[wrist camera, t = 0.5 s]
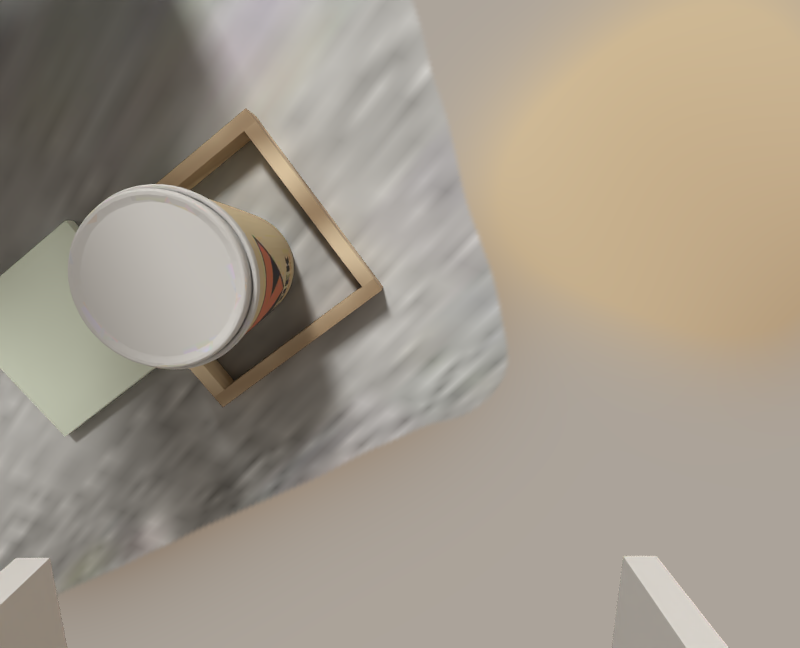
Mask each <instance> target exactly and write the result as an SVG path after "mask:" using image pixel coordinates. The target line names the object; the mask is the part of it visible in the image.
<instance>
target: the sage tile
mask: <svg viewBox="0 0 800 648" xmlns="http://www.w3.org/2000/svg"><path fill="white" fill-rule="evenodd" d="M78 228H79V227H78V225H77V224H76V223H75V222H74V221H68V220H65V221H64V222H63V223H62V224H61V225H59V226H58V227H57V228H56V229H55V230H54V231H52V232H51V233H50V234H49V235H48V236H47V237H45V238H44V239H43V240H42V241H41V242H40V243H38V244H37V245H36V246H35V247H34V248H33V249H31V250H30V251H29V252H28V253H27V254H25V255H24V256H23V257H22V258H21V259H20V260H18V261H17V262H16V263H15V264H14V265H13V266H11V267H10V268H9V269H8V270H7V271H6V272H4V273H3V274H2V275H1V276H0V369H1V370H2V371H3V372H4V373H5V374H6V375H7V376H8V377H9V378H10V379H11V380H12V381H13V382H14V383H15V384H16V385H17V386H18V388H19V389H20V390H21V391H22V392H23V393H24V394H25V395H26V396H27V397H28V398H29V399H30V400H31V401H32V402H33V403H34V404H35V405H36V407H37V408H38V409H39V410H40V411H41V412H42V413H43V414H44V415H45V416H46V417H47V418H48V419H49V420H50V421H51V422H52V423H53V425H54V426H55V427H56V428H57V429H58V430H59V431H60V432H61V433H62V434H63V435H64V436H67V435H69V434H70V433H72V432H73V431H75V430H76V429H77V428H78V427H80V426H81V425H82V424H84V423H85V422H86V421H88V420H89V419H90V418H91V417H93V416H94V415H95V414H97V413H98V412H99V411H101V410H102V409H103V408H104V407H106V406H107V405H108V404H110V403H111V402H112V401H114V400H115V399H116V398H117V397H119V396H120V395H121V394H123V393H124V392H125V391H127V390H128V389H129V388H130V387H132V386H133V385H134V384H136V383H137V382H138V381H140V380H141V379H142V378H143V377H145V376H146V375H147V374H149V373H150V372H151V371H152V370H154V369H155V367H150V366H147V365H143V364H140V363H136V362H133V361H131V360H129V359H127V358H124V357H123V356H121V355H119V354H117V353H115V352H114V351H113V350H111V349H110V348H108V347H107V346H106V345H105V344H103V343H102V342H101V341H100V340H99V339H98V338H97V337H96V336H95V335H94V334H93V333H92V332H91V330H90V329H89V328H88V327H87V325H86V324H85V322H84V321H83V319H82V318H81V316H80V314H79V312H78V310H77V308H76V306H75V303H74V301H73V298H72V295H71V291H70V286H69V282H68V258H69V252H70V248H71V244H72V241H73V239H74V236H75V234H76V232H77V230H78Z"/></svg>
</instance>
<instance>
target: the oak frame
mask: <svg viewBox="0 0 800 648" xmlns="http://www.w3.org/2000/svg"><path fill="white" fill-rule="evenodd" d="M250 140H252V142H253V143H254V144H255V146H256V147H257V148H258V150H259V151H260V152H261V154H262V155H263V156H264V158H265V159H266V160H267V162H268V163H269V164H270V166H271V167H272V168H273V170H274V171H275V172H276V174H277V175H278V176H279V178H280V179H281V180H282V182H283V183H284V184H285V186H286V187H287V188H288V189H289V191H290V192H291V193H292V195H293V196H294V197H295V199H296V200H297V201H298V203H299V204H300V205H301V207H302V208H303V209H304V211H305V212H306V213H307V215H308V216H309V217H310V219H311V220H312V221H313V223H314V224H315V225H316V227H317V228H318V229H319V231H320V232H321V233H322V234H323V236H324V237H325V238H326V240H327V241H328V242H329V244H330V245H331V246H332V248H333V249H334V250H335V252H336V253H337V254H338V256H339V257H340V258H341V260H342V261H343V262H344V264H345V265H346V266H347V268H348V269H349V270H350V272H351V273H352V274H353V276H354V277H355V278H356V280H357V281H358V282H359V283H360V285H361V287H360V288H359V289H357V290H356V291H355V292H353V293H352V294H351V295H349V296H348V297H347V298H345V299H344V300H343V301H341V302H340V303H339V304H337V305H336V306H335V307H333V308H332V309H331V310H329V311H328V312H327V313H325V314H324V315H322V316H321V317H320V318H318V319H317V320H316V321H314V322H313V323H312V324H310V325H309V326H308V327H306V328H305V329H304V330H302V331H301V332H300V333H298V334H297V335H296V336H294V337H293V338H292V339H290V340H289V341H288V342H286V343H285V344H283V345H282V346H281V347H279V348H278V349H277V350H275V351H274V352H273V353H271V354H270V355H269V356H267V357H266V358H265V359H263V360H262V361H261V362H259V363H258V364H257V365H255V366H254V367H253V368H251V369H250V370H249V371H247V372H246V373H245V374H243V375H242V376H240V377H239V378H238V379H236V380H235V381H234V380H233V379H232V378H231V377H230V375H229V374H228V373H227V372H226V371H225V370H224V368H223V367H222V366H221V365H220V364H219V362H218V361H217V360H214V361H211V362H209V363H207V364H204V365H201V366H198V367H193V368H189V369H190V370H191V371H192V372H193V373H194V374H195V376H196V377H197V378H198V379H199V380H200V381H201V382H202V384H203V385H204V386H205V387H206V388H207V389H208V391H209V392H210V393H211V394H212V395H213V396H214V398H215V399H216V400H217V401H218V402H219V403H220V405H221V406H222V407H224V406H225V405H227V404H228V403H230V402H231V401H232V400H234V399H235V398H236V397H238V396H239V395H240V394H242V393H243V392H244V391H246V390H247V389H249V388H250V387H251V386H253V385H254V384H255V383H257V382H258V381H259V380H261V379H262V378H263V377H265V376H266V375H267V374H269V373H270V372H272V371H273V370H274V369H276V368H277V367H278V366H280V365H281V364H282V363H284V362H285V361H286V360H288V359H289V358H291V357H292V356H293V355H295V354H296V353H297V352H299V351H300V350H301V349H303V348H304V347H305V346H307V345H308V344H310V343H311V342H312V341H314V340H315V339H316V338H318V337H319V336H320V335H322V334H323V333H324V332H326V331H327V330H329V329H330V328H331V327H333V326H334V325H335V324H337V323H338V322H339V321H341V320H342V319H343V318H345V317H346V316H348V315H349V314H350V313H352V312H353V311H354V310H356V309H357V308H358V307H360V306H361V305H362V304H364V303H365V302H366V301H368V300H369V299H371V298H372V297H373V296H375V295H376V294H377V293H379V292H380V291H381V290H382V289H383V286H382V285H381V283H380V282H379V281H378V279H377V278H376V277H375V275H374V274H373V273H372V271H371V270H370V269H369V267H368V266H367V265H366V263H365V262H364V261H363V259H362V258H361V257H360V255H359V254H358V253H357V251H356V250H355V249H354V247H353V246H352V245H351V243H350V242H349V241H348V239H347V238H346V237H345V235H344V234H343V233H342V231H341V230H340V228H339V227H338V226H337V224H336V223H335V222H334V220H333V219H332V218H331V216H330V215H329V214H328V212H327V211H326V210H325V208H324V207H323V206H322V204H321V203H320V202H319V200H318V199H317V198H316V196H315V195H314V194H313V192H312V191H311V190H310V188H309V187H308V186H307V184H306V183H305V182H304V180H303V179H302V178H301V176H300V175H299V174H298V172H297V171H296V170H295V168H294V167H293V165H292V164H291V163H290V161H289V160H288V159H287V157H286V156H285V155H284V153H283V152H282V151H281V149H280V148H279V147H278V145H277V144H276V143H275V141H274V140H273V139H272V137H271V136H270V135H269V133H268V132H267V131H266V129H265V128H264V127H263V125H262V124H261V123H260V121H259V120H258V119H257V117H256V116H255V115H254V114H252V113H251V112H250V111H249V110H247V109H244V110H243V111H242V112H241V113H240V114H238V115H237V116H236V117H235V118H234V119H233V120H231V121H230V122H229V123H228V124H227V125H225V126H224V127H223V128H222V129H221V130H219V131H218V132H217V133H216V134H215V135H213V136H212V137H211V138H210V139H209V140H207V141H206V142H205V143H204V144H203V145H202V146H200V147H199V148H198V149H197V150H196V151H194V152H193V153H192V154H191V155H190V156H188V157H187V158H186V159H185V160H184V161H182V162H181V163H180V164H179V165H178V166H176V167H175V168H174V169H173V170H172V171H171V172H169V173H168V174H167V175H166V176H165V177H163V178H162V179H161V180H160V181H159V182H157V183H156V184H165V185H173V186H177V187H181V188H185V189H188V190H191V189H192V188H193V187H195V186H196V185H197V184H198V183H199V182H201V181H202V180H203V179H204V178H205V177H207V176H208V175H209V174H210V173H211V172H213V171H214V170H215V169H216V168H218V167H219V166H220V165H221V164H222V163H224V162H225V161H226V160H227V159H228V158H230V157H231V156H232V155H233V154H235V153H236V152H237V151H238V150H239V149H241V148H242V147H243V146H244V145H245V144H247V143H248V142H249V141H250Z"/></svg>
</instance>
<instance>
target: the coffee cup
mask: <svg viewBox="0 0 800 648" xmlns="http://www.w3.org/2000/svg"><path fill="white" fill-rule="evenodd" d="M293 275H294V262H293V256H292V252H291V250H290V247H289V245H288V243H287V241H286V240H285V238H284V237H283V235H282V234H281V233H280V232H279V231H278V230H277V229H276V228H275V227H274V226H273V225H272V224H270V223H269V222H267V221H266V220H264V219H262V218H260V217H257V216H255V215H253V214H250V213H247V212H245V211H242V210H239V209H236V208H234V207H231V206H228V205H225V204H222V203H219V202H216V201H213V200H210V199H208V198H206V197H204V196H202V195H200V194H198V193H196V192H193V191H191V190H188V189H185V188H181V187H177V186H173V185H165V184H148V185H139V186H135V187H130V188H127V189H125V190H122V191H119V192H117V193H115V194H113V195H112V196H110V197H109V198H107V199H105V200H104V201H103V202H102V203H100V204H99V205H98V206H97V207H96V208H95V209H94V210H92V211H91V212H90V213H89V214H88V216H87V217H86V218H85V219H84V221H83V222H82V223H81V225H80V226H79V228H78V230H77V232H76V234H75V236H74V239H73V241H72V244H71V248H70V252H69V258H68V282H69V286H70V291H71V295H72V298H73V301H74V303H75V306H76V308H77V310H78V312H79V314H80V316H81V318H82V319H83V321H84V322H85V324H86V325H87V327H88V328H89V329H90V330H91V332H92V333H93V334H94V335H95V336H96V337H97V338H98V339H99V340H100V341H101V342H102V343H103V344H105V345H106V346H107V347H108V348H110V349H111V350H113V351H114V352H115V353H117V354H119V355H121V356H123V357H124V358H127V359H129V360H131V361H133V362H136V363H140V364H143V365H147V366H150V367H155V368H159V369H168V370H179V369H189V368H193V367H198V366H201V365H204V364H207V363H209V362H211V361H214V360H216V359H217V358H219V357H221V356H223V355H224V354H225V353H227V352H228V351H229V350H230V349H232V348H233V347H234V346H235V345H236V344H237V343H238V342H239V341H240V339H241V338H242V337H243V336H244V335H245V334H246V333H247V332H248V331H249V330H251V329H252V328H253V327H254V326H255V325H256V324H258V323H259V322H260V321H261V320H262V319H263V318H264V317H265V316H266V315H268V314H269V313H270V312H271V311H272V310H273V309H274V308H275V307H276V306H277V305H278V304H279V303H280V302H281V301H282V300H283V299H284V297H285V296H286V294H287V293H288V291H289V289H290V286H291V284H292V280H293Z"/></svg>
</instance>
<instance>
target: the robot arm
mask: <svg viewBox="0 0 800 648" xmlns="http://www.w3.org/2000/svg"><path fill="white" fill-rule="evenodd" d="M0 648H67V644H66V639H65V634H64V628H63V623H62V618H61V613H60V608H59V602H58V597H57V592H56V587H55V582H54V577H53V572H52V567H51V561H50V558H16V559H14V560H13V561H12V562H11V563H10V564H9V565H7V566H6V567H5V568H4V569H3V570H2V571H1V572H0ZM612 648H728V646H727V645H726V644H725V643H724V641H723V640H722V639H721V638H720V636H719V635H718V634H717V632H716V631H715V630H714V628H713V627H712V626H711V625H710V624H709V622H708V621H707V620H706V618H705V617H704V616H703V615H702V613H701V612H700V611H699V609H697V607H696V606H695V605H694V603H693V602H692V601H691V599H690V598H689V597H688V595H687V594H686V593H685V592H684V590H683V589H682V588H681V587H680V586H679V584H678V583H677V582H676V580H675V579H674V578H673V577H672V575H671V574H670V573H669V571H668V570H667V569H666V568H665V566H664V565H663V564H662V563H661V561H660V560H659V559H658V557H657V556H623V561H622V570H621V577H620V585H619V593H618V601H617V609H616V617H615V625H614V633H613V641H612Z"/></svg>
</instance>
